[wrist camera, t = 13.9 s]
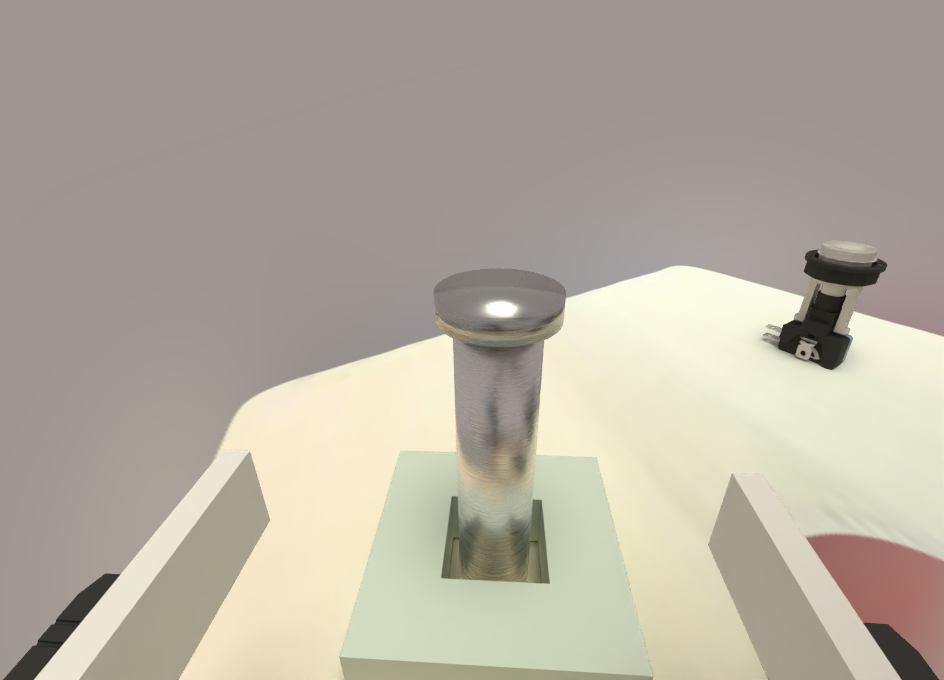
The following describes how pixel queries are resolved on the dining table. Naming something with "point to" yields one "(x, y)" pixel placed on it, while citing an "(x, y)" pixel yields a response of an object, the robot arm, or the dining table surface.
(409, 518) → the socket block
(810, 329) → the push button
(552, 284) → the steel pin
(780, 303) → the dining table surface
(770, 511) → the robot arm
